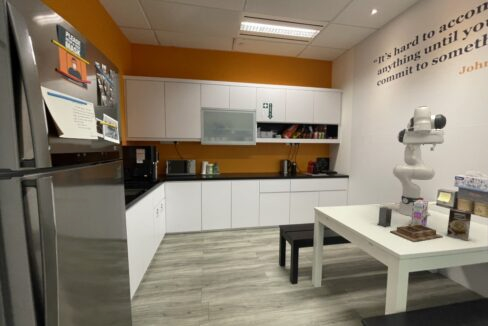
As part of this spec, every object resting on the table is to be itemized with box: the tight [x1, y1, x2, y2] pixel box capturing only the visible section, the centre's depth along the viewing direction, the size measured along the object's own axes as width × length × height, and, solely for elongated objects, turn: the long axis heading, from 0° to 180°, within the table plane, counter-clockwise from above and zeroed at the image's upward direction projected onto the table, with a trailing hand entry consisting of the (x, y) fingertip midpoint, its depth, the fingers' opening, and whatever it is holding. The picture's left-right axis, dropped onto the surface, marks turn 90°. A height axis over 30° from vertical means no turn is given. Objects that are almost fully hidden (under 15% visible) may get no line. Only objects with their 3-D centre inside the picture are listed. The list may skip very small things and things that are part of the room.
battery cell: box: [377, 206, 393, 228], centre depth 144 cm, size 5×5×13 cm
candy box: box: [410, 200, 429, 226], centre depth 146 cm, size 14×6×16 cm, turn 129°
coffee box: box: [446, 208, 472, 241], centre depth 127 cm, size 9×6×16 cm
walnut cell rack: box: [389, 224, 444, 243], centre depth 130 cm, size 24×14×4 cm, turn 108°
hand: (422, 150), depth 136 cm, fingers open, 8 cm apart
